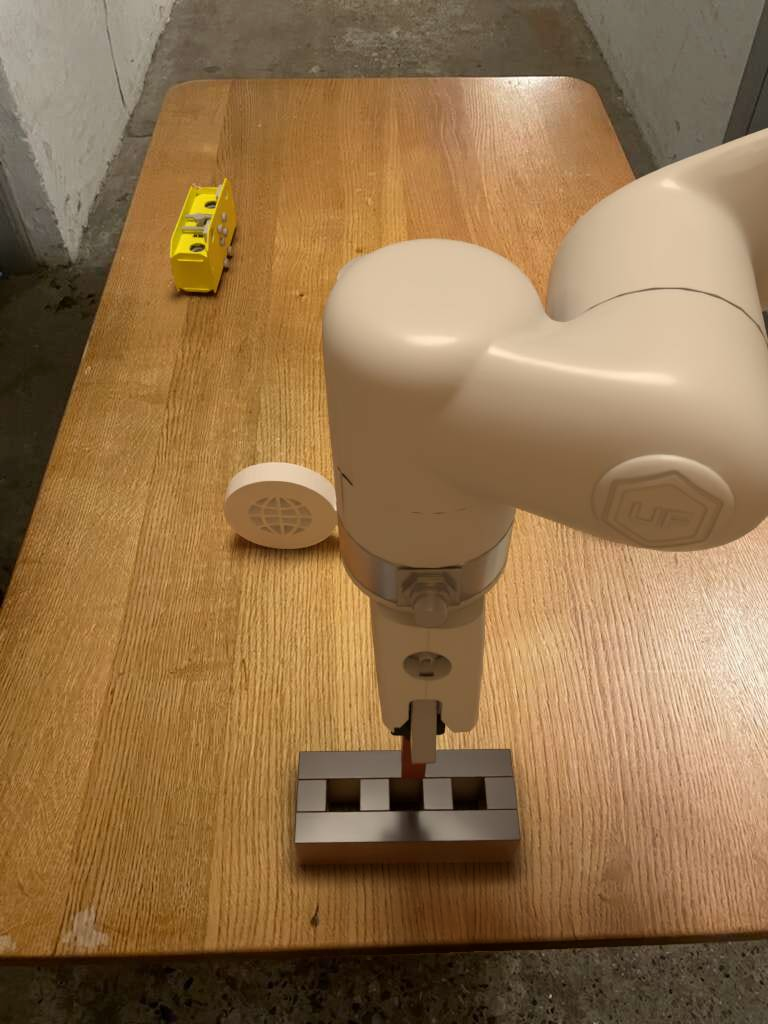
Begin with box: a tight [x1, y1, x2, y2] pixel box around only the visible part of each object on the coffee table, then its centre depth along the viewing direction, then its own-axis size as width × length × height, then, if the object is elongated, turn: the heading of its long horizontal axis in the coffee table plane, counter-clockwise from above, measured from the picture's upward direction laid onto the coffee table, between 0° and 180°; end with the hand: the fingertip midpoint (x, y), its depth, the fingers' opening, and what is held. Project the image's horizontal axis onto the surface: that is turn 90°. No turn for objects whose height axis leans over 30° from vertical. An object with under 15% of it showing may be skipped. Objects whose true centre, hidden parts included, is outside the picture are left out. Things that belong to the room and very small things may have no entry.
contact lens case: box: [223, 461, 338, 550], centre depth 78 cm, size 22×2×10 cm, turn 88°
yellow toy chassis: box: [169, 177, 237, 294], centre depth 108 cm, size 16×6×8 cm, turn 177°
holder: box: [293, 748, 522, 866], centre depth 63 cm, size 7×16×5 cm, turn 91°
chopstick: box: [400, 736, 426, 779], centre depth 52 cm, size 2×2×14 cm
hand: (416, 712), depth 50 cm, fingers closed on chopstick, 1 cm apart
